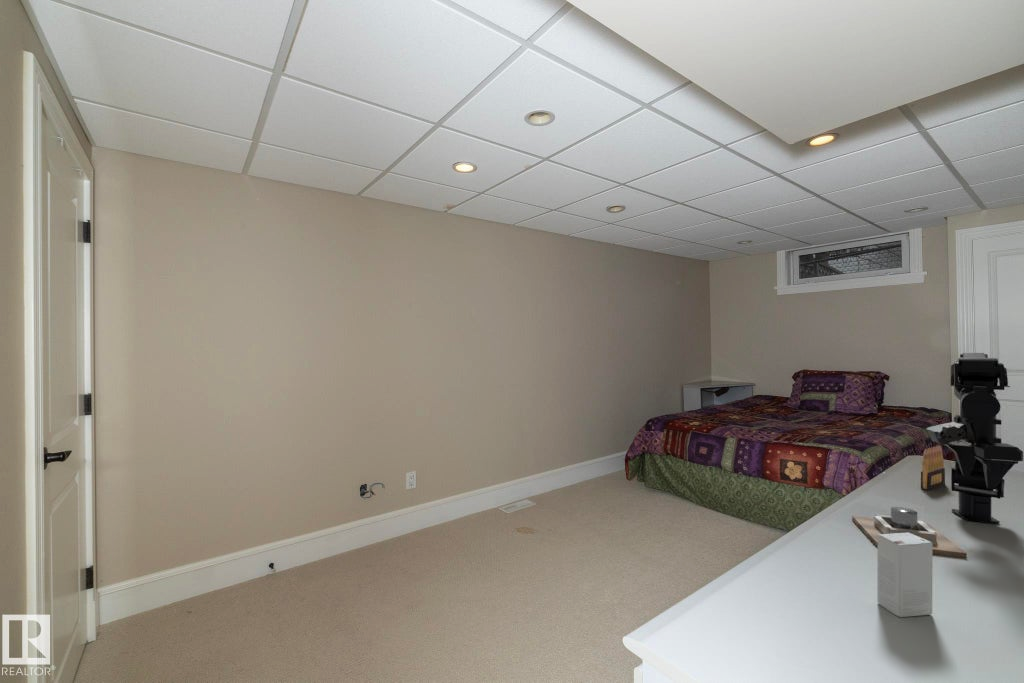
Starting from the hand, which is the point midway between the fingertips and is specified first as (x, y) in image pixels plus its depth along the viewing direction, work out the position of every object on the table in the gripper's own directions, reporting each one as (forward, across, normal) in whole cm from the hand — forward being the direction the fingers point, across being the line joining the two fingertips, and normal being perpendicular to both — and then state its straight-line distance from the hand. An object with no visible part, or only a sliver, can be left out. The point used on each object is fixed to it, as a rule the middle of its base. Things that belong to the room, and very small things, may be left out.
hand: (977, 481), depth 102 cm
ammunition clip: (+12, -37, +7) cm, 40 cm away
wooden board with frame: (+12, +7, -16) cm, 21 cm away
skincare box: (+12, +40, -28) cm, 50 cm away
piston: (+11, +7, -16) cm, 21 cm away
